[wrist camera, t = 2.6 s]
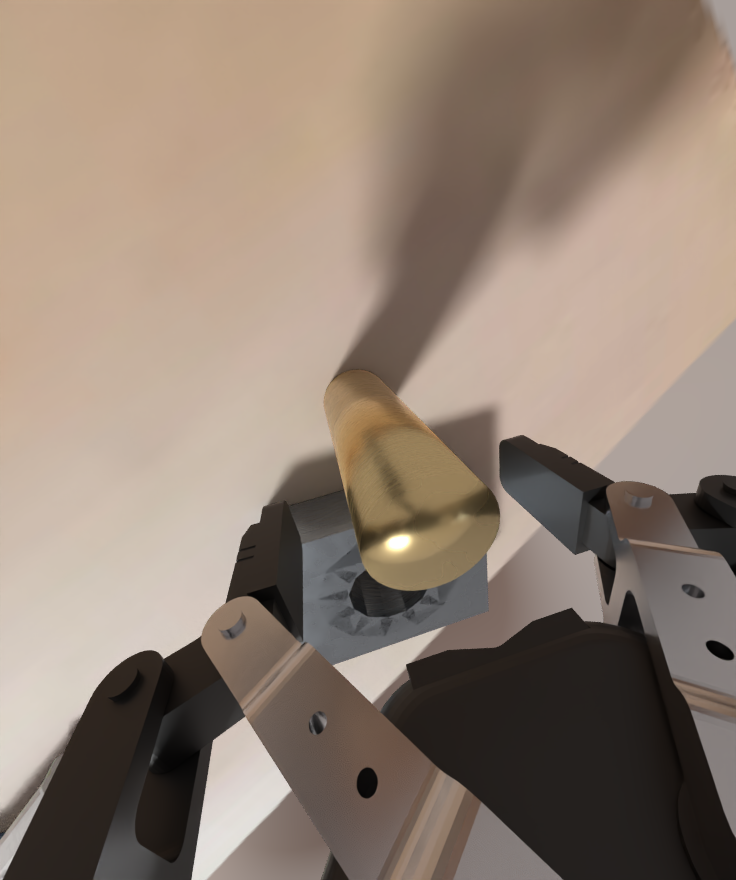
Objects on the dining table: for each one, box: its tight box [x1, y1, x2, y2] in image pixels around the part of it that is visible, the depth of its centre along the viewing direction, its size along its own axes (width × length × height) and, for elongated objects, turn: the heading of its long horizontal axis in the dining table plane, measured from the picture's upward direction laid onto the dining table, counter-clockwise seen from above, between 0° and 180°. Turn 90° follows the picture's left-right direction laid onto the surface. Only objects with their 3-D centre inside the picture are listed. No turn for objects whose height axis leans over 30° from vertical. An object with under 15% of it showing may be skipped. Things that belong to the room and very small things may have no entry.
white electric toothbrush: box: [0, 753, 64, 880], centre depth 27 cm, size 5×7×25 cm
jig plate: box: [289, 490, 488, 665], centre depth 23 cm, size 12×14×4 cm
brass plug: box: [324, 369, 500, 591], centre depth 14 cm, size 4×4×12 cm
